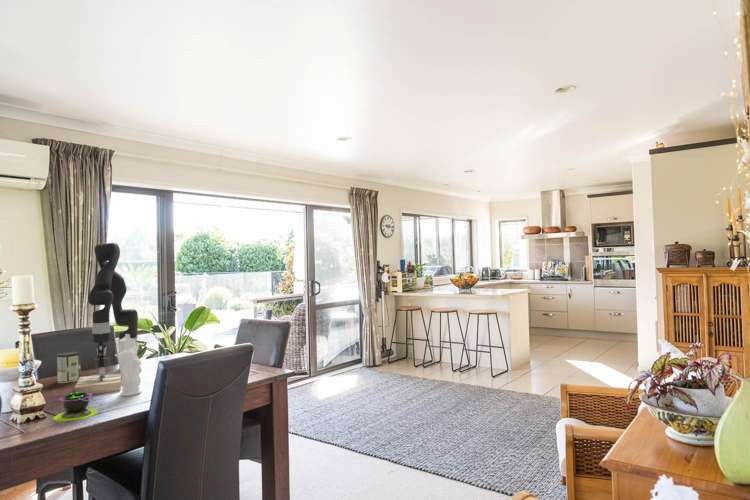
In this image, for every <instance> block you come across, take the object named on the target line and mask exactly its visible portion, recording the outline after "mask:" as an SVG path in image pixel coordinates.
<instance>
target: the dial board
mask: <svg viewBox="0 0 750 500" xmlns="http://www.w3.org/2000/svg"><path fill="white" fill-rule="evenodd" d="M121 380H122V377H121V372H120V371H119V372H113V373H105V377H104V378H103V379H102V380H100V378H99V374H94V375H84V376H81V377H80V378H79V380H78V381H76V382H77V383H76V384H75V385H74V394H75V393H77V392H79V393H87V395H88V396H89V394H90V393H92V395H96V394H97V395H98V394H104V393H113V392H119V391H120V392H122V385H121ZM77 385H78V386H77ZM79 385H80V386H79ZM79 388H80V389H79ZM85 388H86V389H85ZM87 389H88V390H87ZM88 393H89V394H88ZM90 395H91V394H90ZM92 395H91V396H92Z"/></svg>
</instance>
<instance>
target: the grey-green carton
mask: <svg viewBox="0 0 750 500" xmlns="http://www.w3.org/2000/svg"><path fill="white" fill-rule="evenodd" d="M56 367H57V369H56V370H57V371H56V372H57V373H56V374H57V383H58V384H68V383H69V382H70V383H74V382H78V380H79V378H80V377H82V376H81V351H80V350H79V351H77V350H75V351H65V352H60V353H57V354H56ZM70 383H69V384H70Z"/></svg>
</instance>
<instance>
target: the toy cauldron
mask: <svg viewBox="0 0 750 500" xmlns="http://www.w3.org/2000/svg"><path fill="white" fill-rule="evenodd" d="M70 386H71V385H70ZM77 386H78V385H77ZM79 386H80V385H79ZM71 387H73V385H72V386H71ZM71 387H69V390H68V391H71V389H72V388H71ZM70 388H71V389H70ZM79 389H80V388H79ZM85 389H86V388H85ZM87 390H88V389H87ZM64 394H67V395H64V396H61V397H59V398H58V401H61V402H62V408H63V409H64V412H61V413H58V414H56V415H55V416H53V421H55V422H70V421H77V420H83V419H87V418H90V417H92V416H95V415H97V414H98V413H99V409H97V408H88V406H89V402H90V397H93V395H94V394H92V393H90V394H91V395H90V394H89V393H88V394H89V395H87V393H79V392H77V393H75V392H74V393H73V392H71V393H66V392H64Z"/></svg>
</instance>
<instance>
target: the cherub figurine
mask: <svg viewBox="0 0 750 500" xmlns="http://www.w3.org/2000/svg"><path fill="white" fill-rule="evenodd" d="M139 349H140V344H139V343H138V342H137V345H136V346H134V347H132V348H131V349H130V350H124V351H123V352H121V353H119V352H118V353H116V354H114V356H115V357H117V358H118V359H119V358H121V361H122V363H123V368H122V375H123V377H121V391H120V393H119V394H120V396H121V397H133V396H137V395H140V394H142V390H141V389H140V384H141V376H140V374H141V373H142V367H141V365H142V360H140V358H139V357H138V355H137V356H136V355H135V354H136V353H137V354H138V350H139Z"/></svg>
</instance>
